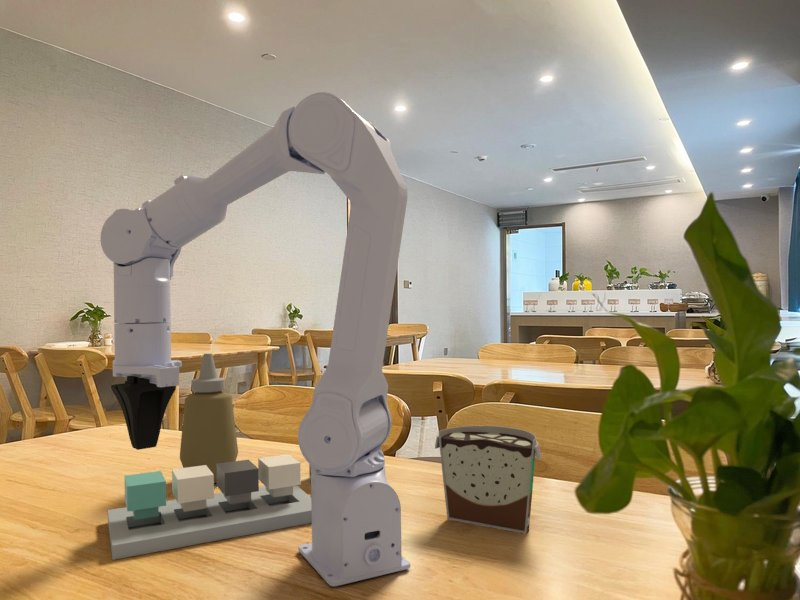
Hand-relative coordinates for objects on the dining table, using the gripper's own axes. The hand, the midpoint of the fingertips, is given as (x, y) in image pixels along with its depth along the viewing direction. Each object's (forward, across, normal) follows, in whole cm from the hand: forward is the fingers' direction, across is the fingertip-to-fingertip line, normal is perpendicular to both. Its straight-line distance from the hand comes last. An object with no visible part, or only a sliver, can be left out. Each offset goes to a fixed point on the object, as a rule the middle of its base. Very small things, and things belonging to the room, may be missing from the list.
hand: (144, 447), depth 67 cm
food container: (+10, -24, -31) cm, 40 cm away
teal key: (+7, 0, 0) cm, 7 cm away
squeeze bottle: (+10, +15, -14) cm, 23 cm away
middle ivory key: (+7, -1, -5) cm, 9 cm away
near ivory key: (+7, -4, -14) cm, 17 cm away
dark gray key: (+7, -3, -10) cm, 12 cm away
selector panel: (+9, -2, -7) cm, 12 cm away
